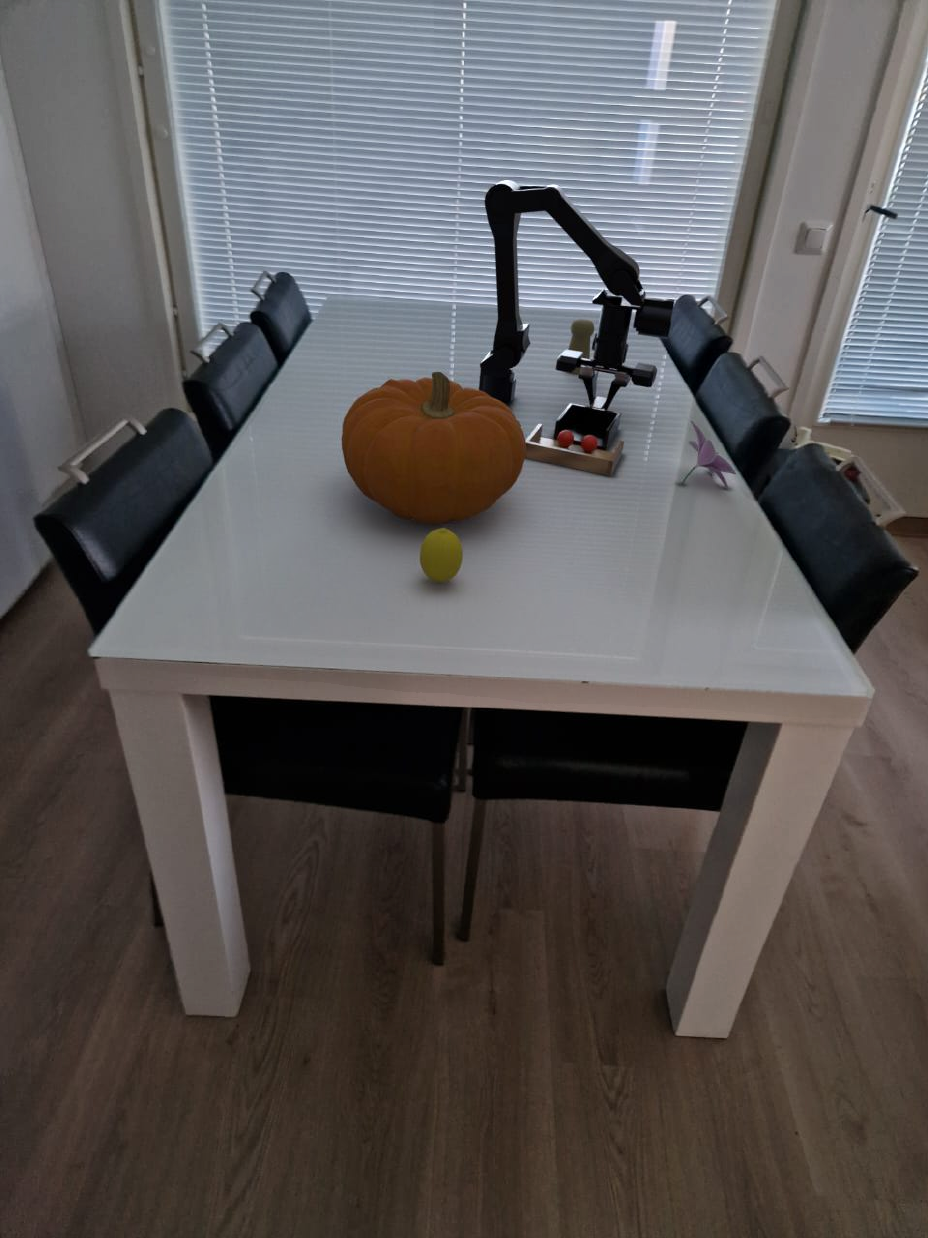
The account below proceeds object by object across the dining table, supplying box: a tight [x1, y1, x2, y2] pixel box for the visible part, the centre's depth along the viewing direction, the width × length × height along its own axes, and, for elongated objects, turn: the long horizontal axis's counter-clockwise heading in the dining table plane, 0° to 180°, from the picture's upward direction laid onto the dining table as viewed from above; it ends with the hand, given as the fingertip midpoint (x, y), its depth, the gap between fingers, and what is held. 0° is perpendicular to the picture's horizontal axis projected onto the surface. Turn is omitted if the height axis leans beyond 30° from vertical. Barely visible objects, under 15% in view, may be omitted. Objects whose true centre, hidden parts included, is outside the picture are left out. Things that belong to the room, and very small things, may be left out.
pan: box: [553, 395, 622, 450], centre depth 158 cm, size 18×10×4 cm, turn 160°
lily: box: [680, 420, 737, 490], centre depth 141 cm, size 12×12×10 cm
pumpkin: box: [341, 371, 526, 525], centre depth 123 cm, size 28×28×20 cm
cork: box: [567, 318, 595, 375], centre depth 186 cm, size 6×6×11 cm
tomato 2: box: [580, 435, 598, 452], centre depth 148 cm, size 3×3×3 cm
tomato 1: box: [556, 430, 574, 447], centre depth 149 cm, size 3×3×3 cm
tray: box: [525, 423, 625, 477], centre depth 147 cm, size 16×10×3 cm, turn 70°
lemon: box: [419, 527, 464, 584], centre depth 107 cm, size 6×6×8 cm
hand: (598, 411), depth 164 cm, fingers closed on pan, 2 cm apart
